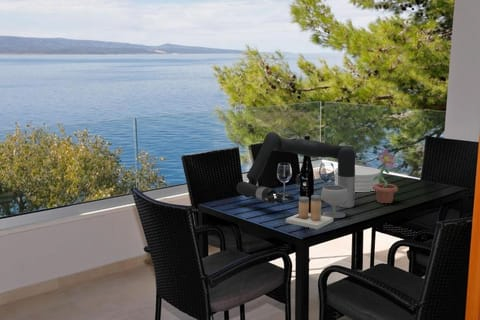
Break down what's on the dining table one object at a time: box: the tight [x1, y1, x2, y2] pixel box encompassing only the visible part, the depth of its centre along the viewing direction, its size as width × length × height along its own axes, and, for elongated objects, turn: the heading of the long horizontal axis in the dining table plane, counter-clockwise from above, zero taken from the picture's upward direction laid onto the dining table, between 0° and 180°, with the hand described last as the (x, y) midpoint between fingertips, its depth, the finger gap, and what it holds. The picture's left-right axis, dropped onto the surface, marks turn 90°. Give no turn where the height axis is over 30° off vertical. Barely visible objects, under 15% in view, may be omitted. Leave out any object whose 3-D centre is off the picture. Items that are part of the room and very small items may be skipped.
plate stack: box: [334, 165, 381, 192], centre depth 339 cm, size 28×28×12 cm
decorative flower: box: [373, 149, 399, 205], centre depth 302 cm, size 15×14×30 cm
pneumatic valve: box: [295, 173, 316, 186], centre depth 329 cm, size 6×12×12 cm, turn 123°
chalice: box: [320, 184, 348, 219], centre depth 277 cm, size 14×14×15 cm
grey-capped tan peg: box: [298, 196, 310, 220], centre depth 268 cm, size 5×5×12 cm
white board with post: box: [285, 194, 334, 230], centre depth 266 cm, size 16×18×14 cm
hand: (288, 200), depth 276 cm, fingers open, 8 cm apart
